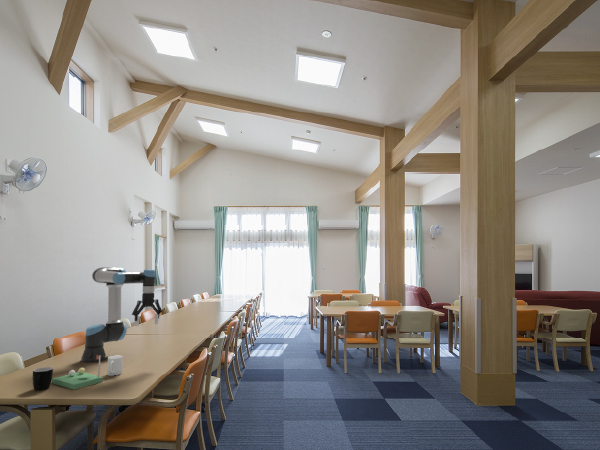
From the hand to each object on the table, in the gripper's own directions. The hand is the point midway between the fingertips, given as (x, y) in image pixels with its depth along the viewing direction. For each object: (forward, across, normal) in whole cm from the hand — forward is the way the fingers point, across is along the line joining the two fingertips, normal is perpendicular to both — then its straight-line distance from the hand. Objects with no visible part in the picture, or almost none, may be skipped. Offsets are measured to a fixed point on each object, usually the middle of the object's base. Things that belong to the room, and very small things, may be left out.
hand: (146, 324), depth 249 cm
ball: (+22, -43, +2) cm, 49 cm away
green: (+26, -42, -4) cm, 50 cm away
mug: (+27, -60, -2) cm, 65 cm away
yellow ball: (+22, -38, +3) cm, 44 cm away
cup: (+27, -22, -4) cm, 35 cm away
